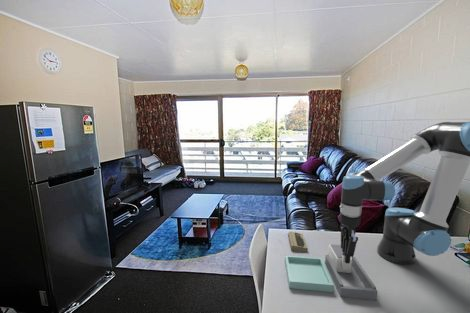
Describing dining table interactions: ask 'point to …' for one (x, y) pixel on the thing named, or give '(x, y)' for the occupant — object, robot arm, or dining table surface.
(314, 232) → the dining table surface
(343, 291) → the tray
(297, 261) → the tray
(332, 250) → the grey bevelled prism
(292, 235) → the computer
